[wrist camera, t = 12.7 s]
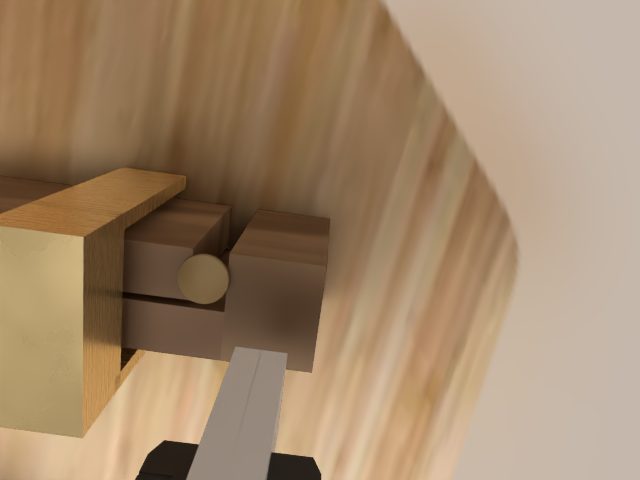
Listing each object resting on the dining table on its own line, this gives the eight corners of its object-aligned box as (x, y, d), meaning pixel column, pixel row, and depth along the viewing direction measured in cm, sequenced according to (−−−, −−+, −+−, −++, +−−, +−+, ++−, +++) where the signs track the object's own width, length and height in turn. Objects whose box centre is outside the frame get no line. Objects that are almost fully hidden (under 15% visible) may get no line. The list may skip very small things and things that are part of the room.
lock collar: (123, 167, 25) (-23, 222, 15) (186, 175, 25) (83, 236, 15) (119, 297, 27) (-12, 425, 17) (178, 305, 27) (82, 437, 17)
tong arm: (-107, 162, 26) (-265, 189, 19) (231, 205, 26) (192, 248, 19) (-102, 202, 26) (-255, 243, 19) (228, 245, 26) (189, 300, 19)
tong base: (-109, 159, 26) (-281, 188, 18) (330, 219, 26) (326, 270, 18) (-101, 244, 27) (-259, 301, 20) (318, 300, 27) (311, 378, 20)
